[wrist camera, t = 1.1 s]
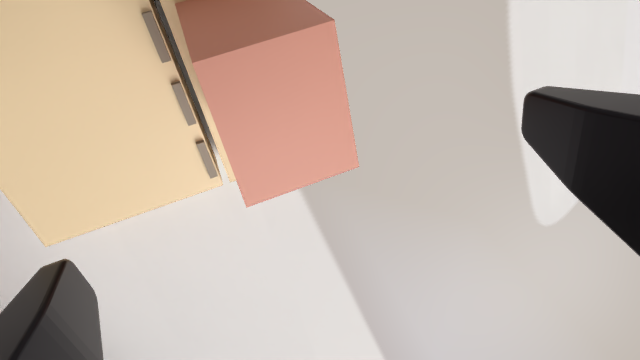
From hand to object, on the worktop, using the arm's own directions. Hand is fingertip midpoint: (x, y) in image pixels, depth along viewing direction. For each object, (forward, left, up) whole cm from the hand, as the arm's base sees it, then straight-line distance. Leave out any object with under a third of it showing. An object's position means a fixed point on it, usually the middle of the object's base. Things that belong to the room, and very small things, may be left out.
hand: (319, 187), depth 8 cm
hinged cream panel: (0, +6, -11) cm, 13 cm away
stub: (0, 0, -11) cm, 11 cm away
